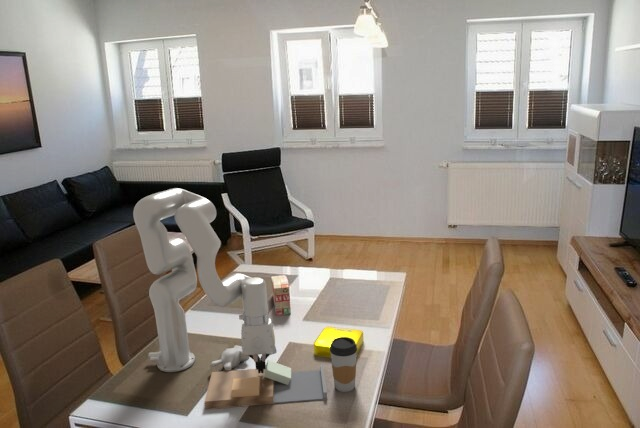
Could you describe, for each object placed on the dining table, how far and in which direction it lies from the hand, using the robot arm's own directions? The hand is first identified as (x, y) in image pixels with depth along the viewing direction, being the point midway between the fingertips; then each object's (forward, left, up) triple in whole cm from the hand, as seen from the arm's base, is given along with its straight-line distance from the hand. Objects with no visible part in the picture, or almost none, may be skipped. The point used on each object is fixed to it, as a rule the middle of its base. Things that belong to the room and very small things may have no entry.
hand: (261, 370), depth 164 cm
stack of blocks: (+6, +59, -5) cm, 60 cm away
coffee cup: (+26, -6, -4) cm, 27 cm away
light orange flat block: (-4, -8, -2) cm, 9 cm away
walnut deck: (-6, -4, -4) cm, 8 cm away
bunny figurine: (-11, +12, -4) cm, 17 cm away
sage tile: (+5, 0, -2) cm, 5 cm away
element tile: (+27, +19, -5) cm, 33 cm away
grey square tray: (+12, -4, -4) cm, 13 cm away
